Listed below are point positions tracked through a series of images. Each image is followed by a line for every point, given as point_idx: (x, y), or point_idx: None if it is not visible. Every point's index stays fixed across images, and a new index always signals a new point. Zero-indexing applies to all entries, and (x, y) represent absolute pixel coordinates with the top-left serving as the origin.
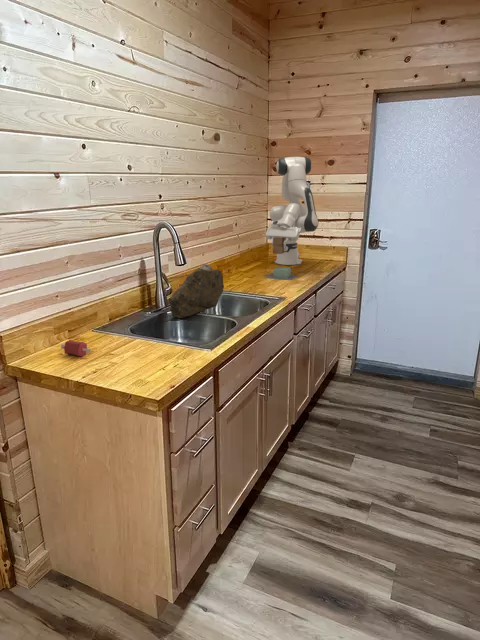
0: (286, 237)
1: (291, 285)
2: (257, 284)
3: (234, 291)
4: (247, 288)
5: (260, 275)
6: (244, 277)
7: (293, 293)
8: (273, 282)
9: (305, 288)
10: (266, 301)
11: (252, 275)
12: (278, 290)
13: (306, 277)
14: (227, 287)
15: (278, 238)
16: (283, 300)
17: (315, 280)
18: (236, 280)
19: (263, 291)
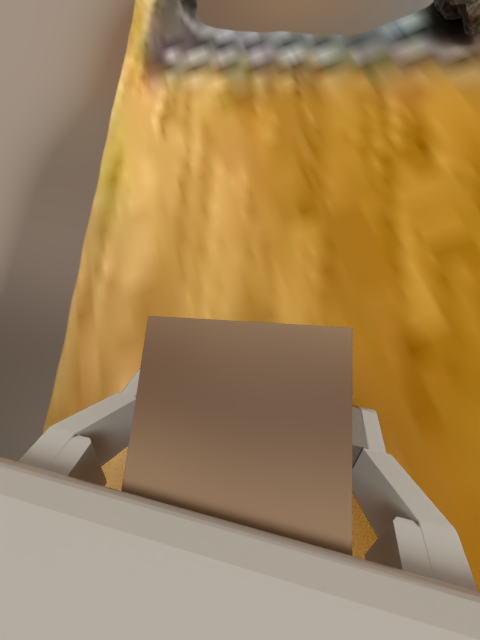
0: (53, 474)
1: (158, 247)
2: (310, 210)
3: (350, 73)
4: (322, 131)
5: (387, 429)
6: (451, 338)
7: (129, 131)
8: (252, 275)
9: (95, 218)
10: (193, 16)
11: (435, 412)
12: (191, 149)
13: (114, 458)
14: (413, 113)
15: (217, 321)
16: (145, 45)
17: (64, 392)
18: (452, 251)
19: (242, 114)
